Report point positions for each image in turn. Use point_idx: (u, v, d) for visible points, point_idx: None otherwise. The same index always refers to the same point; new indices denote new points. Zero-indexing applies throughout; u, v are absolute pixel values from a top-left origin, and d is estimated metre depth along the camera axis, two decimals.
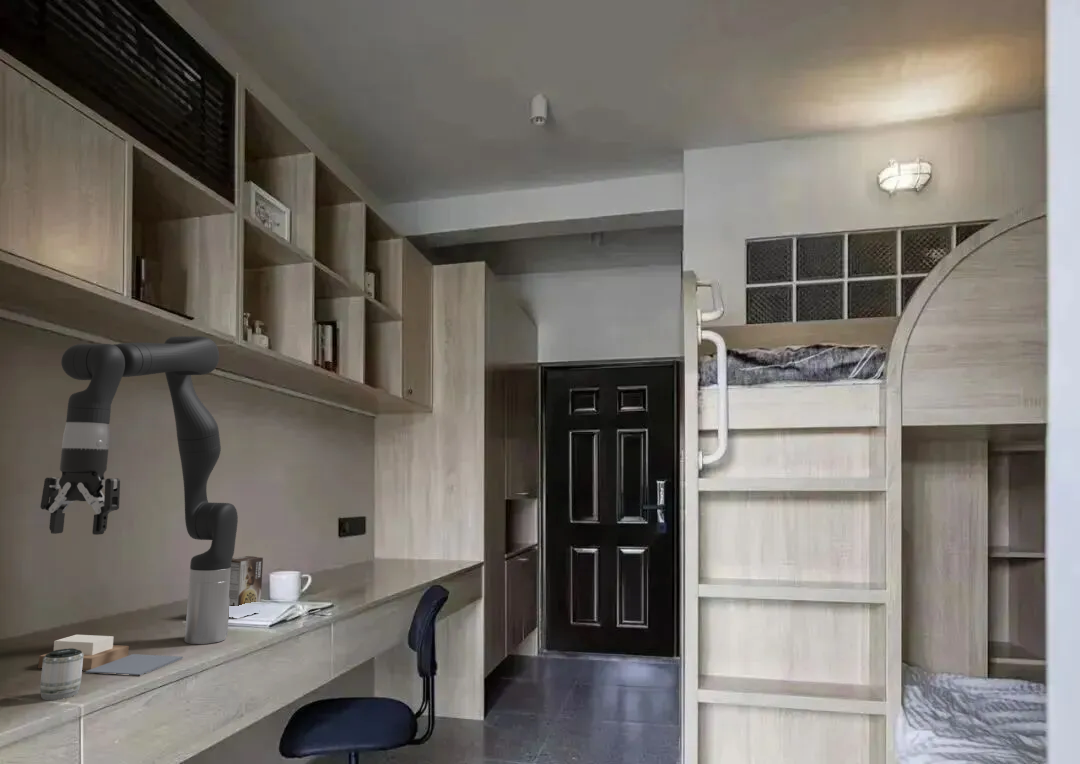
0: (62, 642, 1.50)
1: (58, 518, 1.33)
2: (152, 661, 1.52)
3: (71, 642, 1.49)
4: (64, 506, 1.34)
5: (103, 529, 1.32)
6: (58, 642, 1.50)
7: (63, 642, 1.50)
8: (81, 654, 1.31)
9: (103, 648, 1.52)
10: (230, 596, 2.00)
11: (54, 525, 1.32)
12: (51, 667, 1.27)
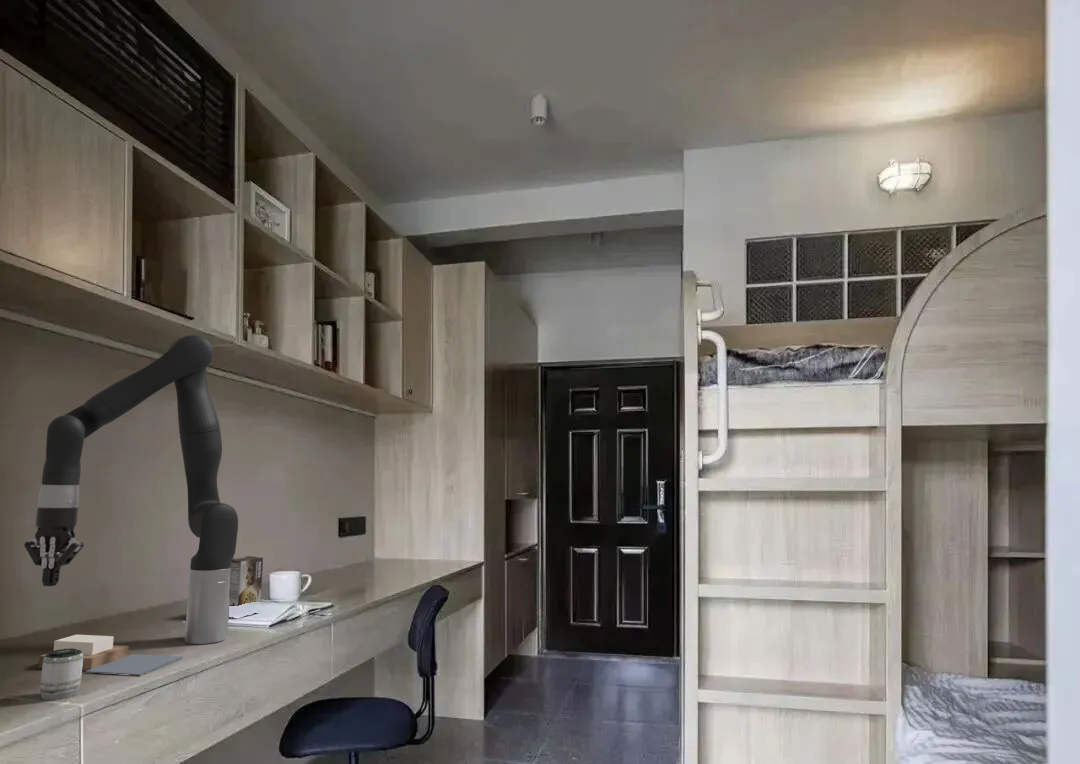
0: (62, 642, 1.50)
1: None
2: (152, 661, 1.52)
3: (71, 642, 1.49)
4: None
5: (55, 581, 1.55)
6: (58, 642, 1.50)
7: (63, 642, 1.50)
8: (81, 654, 1.31)
9: (103, 648, 1.52)
10: (230, 596, 2.00)
11: (46, 579, 1.54)
12: (51, 667, 1.27)
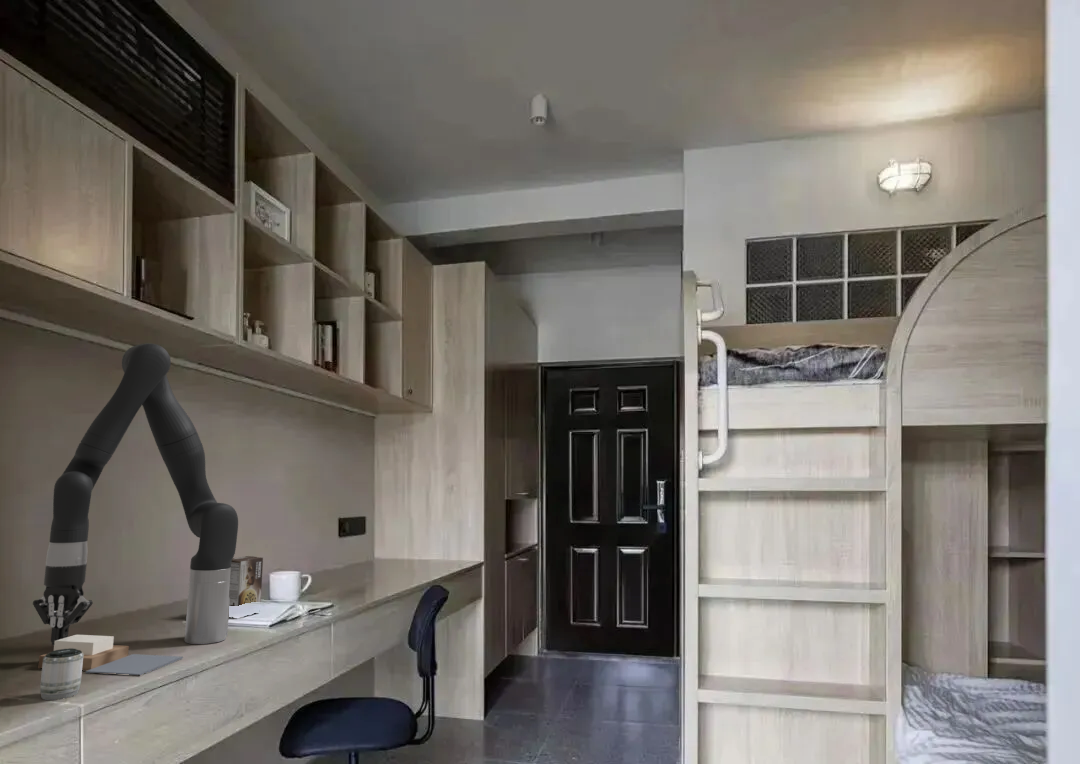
0: (62, 642, 1.50)
1: None
2: (152, 661, 1.52)
3: (71, 642, 1.49)
4: None
5: None
6: (58, 642, 1.50)
7: (63, 642, 1.50)
8: (81, 654, 1.31)
9: (103, 648, 1.52)
10: (230, 596, 2.00)
11: (55, 638, 1.52)
12: (52, 667, 1.27)
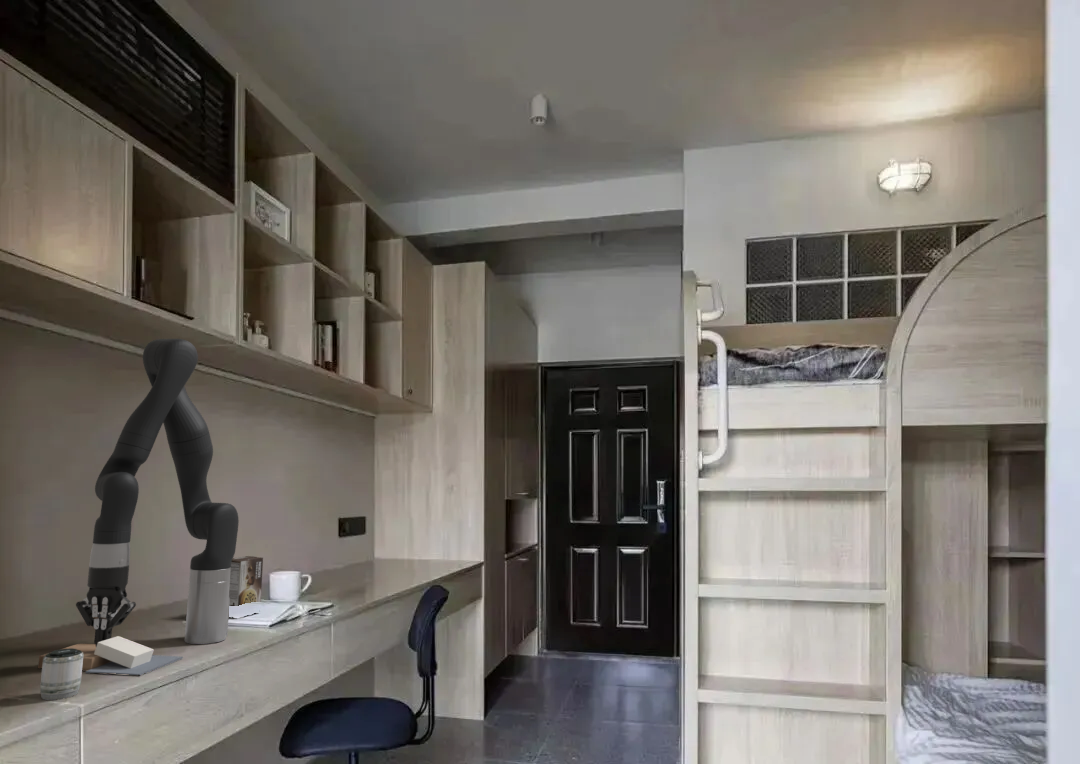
0: (105, 646, 1.48)
1: None
2: (152, 661, 1.52)
3: (113, 649, 1.47)
4: None
5: None
6: (101, 645, 1.48)
7: (106, 646, 1.48)
8: (81, 654, 1.31)
9: (142, 661, 1.50)
10: (230, 596, 2.00)
11: (98, 640, 1.51)
12: (52, 667, 1.27)
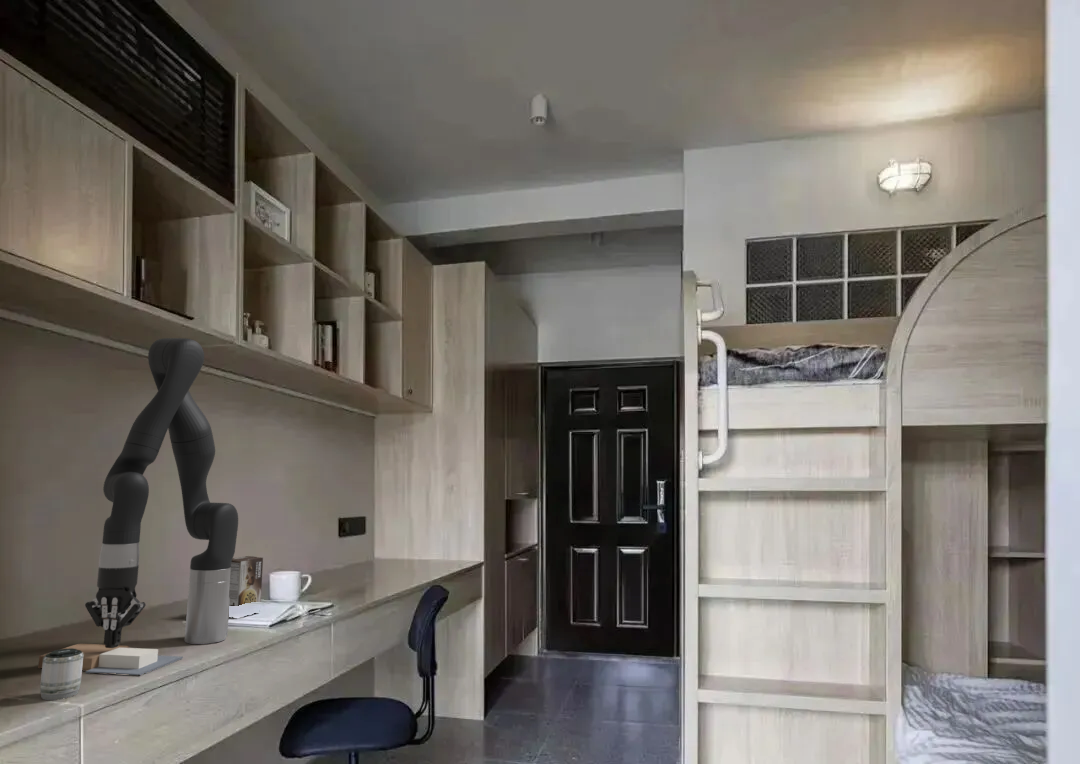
0: (107, 656, 1.47)
1: None
2: None
3: (117, 656, 1.47)
4: None
5: (117, 643, 1.51)
6: (103, 656, 1.47)
7: (108, 656, 1.47)
8: (81, 654, 1.31)
9: (148, 661, 1.49)
10: (230, 596, 2.00)
11: (108, 640, 1.50)
12: (51, 667, 1.27)
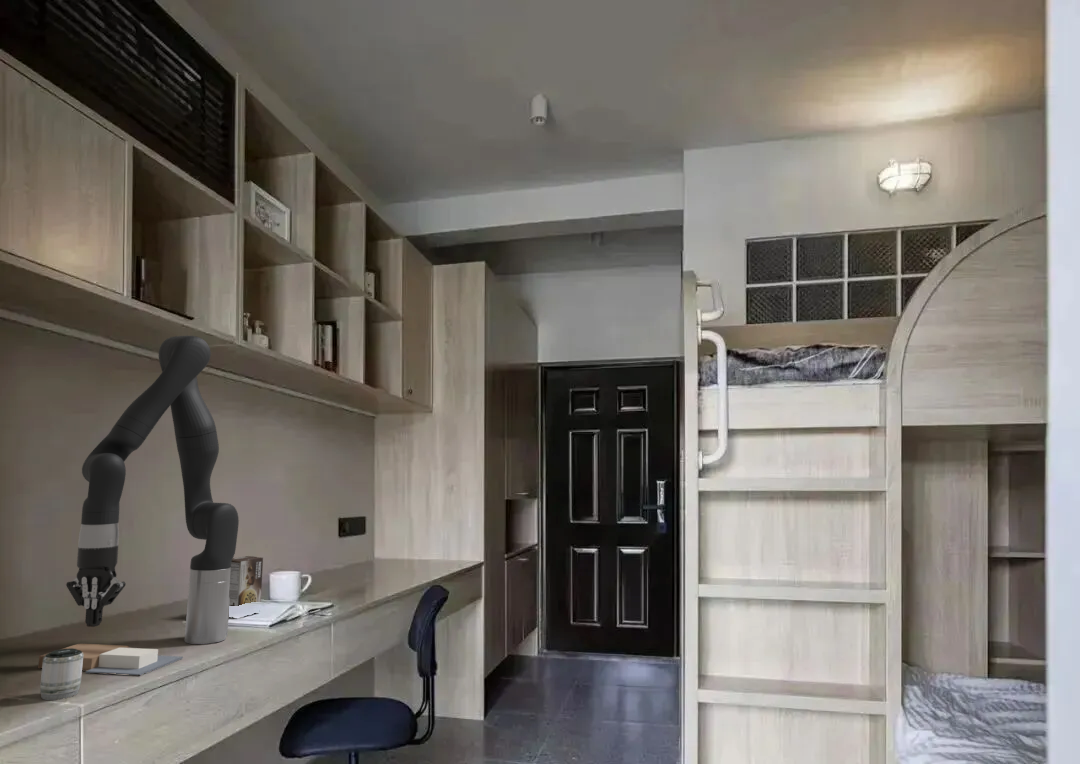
0: (107, 656, 1.47)
1: None
2: None
3: (117, 656, 1.47)
4: None
5: (99, 621, 1.53)
6: (103, 656, 1.47)
7: (108, 656, 1.47)
8: (81, 654, 1.31)
9: (148, 661, 1.49)
10: (230, 596, 2.00)
11: (89, 619, 1.52)
12: (52, 667, 1.27)
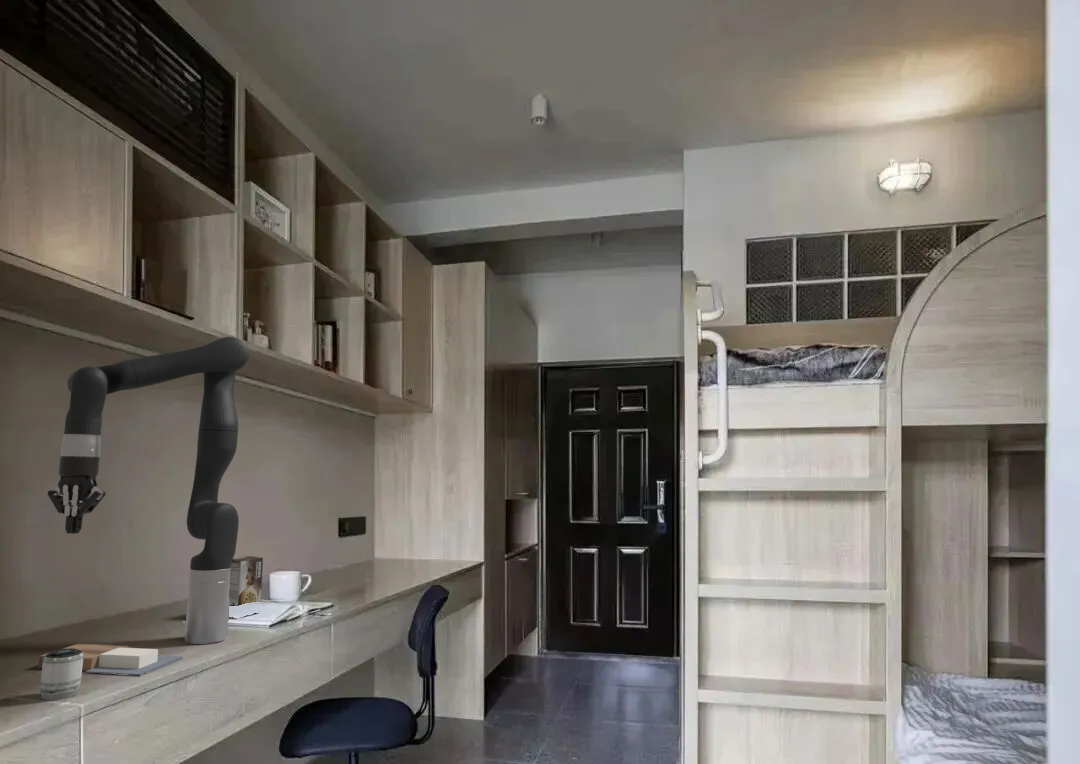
0: (107, 656, 1.47)
1: None
2: None
3: (117, 656, 1.47)
4: None
5: (78, 529, 1.57)
6: (103, 656, 1.47)
7: (108, 656, 1.47)
8: (81, 654, 1.31)
9: (148, 661, 1.49)
10: (230, 596, 2.00)
11: (69, 526, 1.56)
12: (51, 667, 1.27)
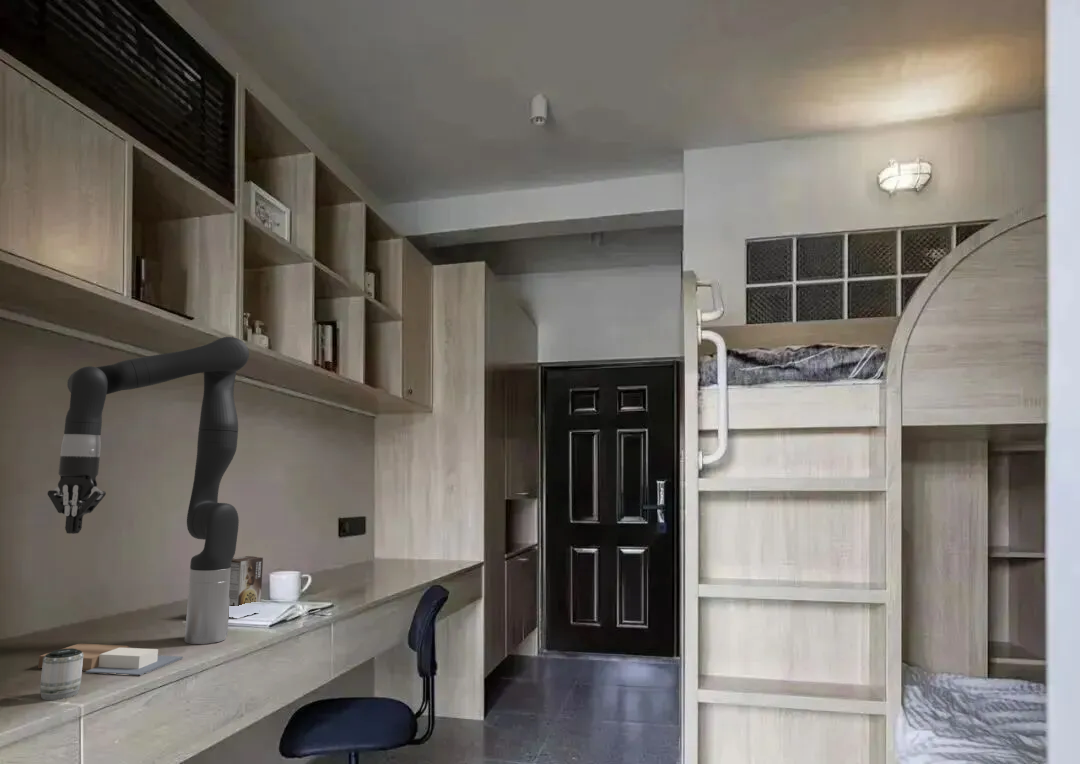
0: (107, 656, 1.47)
1: None
2: None
3: (117, 656, 1.47)
4: None
5: (78, 529, 1.57)
6: (103, 656, 1.47)
7: (108, 656, 1.47)
8: (81, 654, 1.31)
9: (148, 661, 1.49)
10: (230, 596, 2.00)
11: (69, 526, 1.56)
12: (51, 667, 1.27)
